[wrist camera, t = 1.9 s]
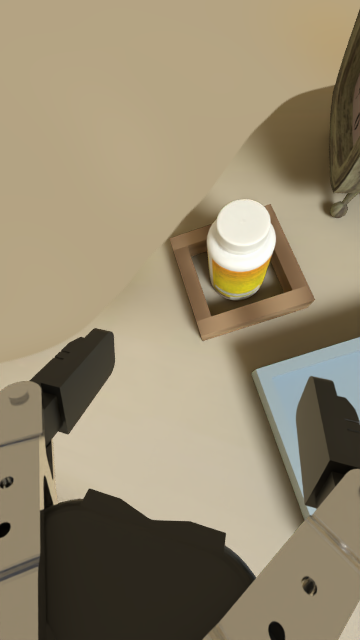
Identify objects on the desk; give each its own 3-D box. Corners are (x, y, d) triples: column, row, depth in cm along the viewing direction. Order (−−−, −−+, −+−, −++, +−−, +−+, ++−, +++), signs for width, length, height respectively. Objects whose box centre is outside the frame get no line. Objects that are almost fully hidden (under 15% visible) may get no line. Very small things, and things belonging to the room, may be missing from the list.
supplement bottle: (270, 293, 30) (294, 242, 20) (218, 308, 31) (217, 265, 21) (252, 247, 32) (267, 179, 22) (203, 262, 32) (196, 202, 22)
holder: (266, 218, 32) (270, 204, 30) (307, 307, 29) (314, 299, 27) (173, 250, 33) (169, 238, 31) (202, 341, 30) (201, 336, 27)
